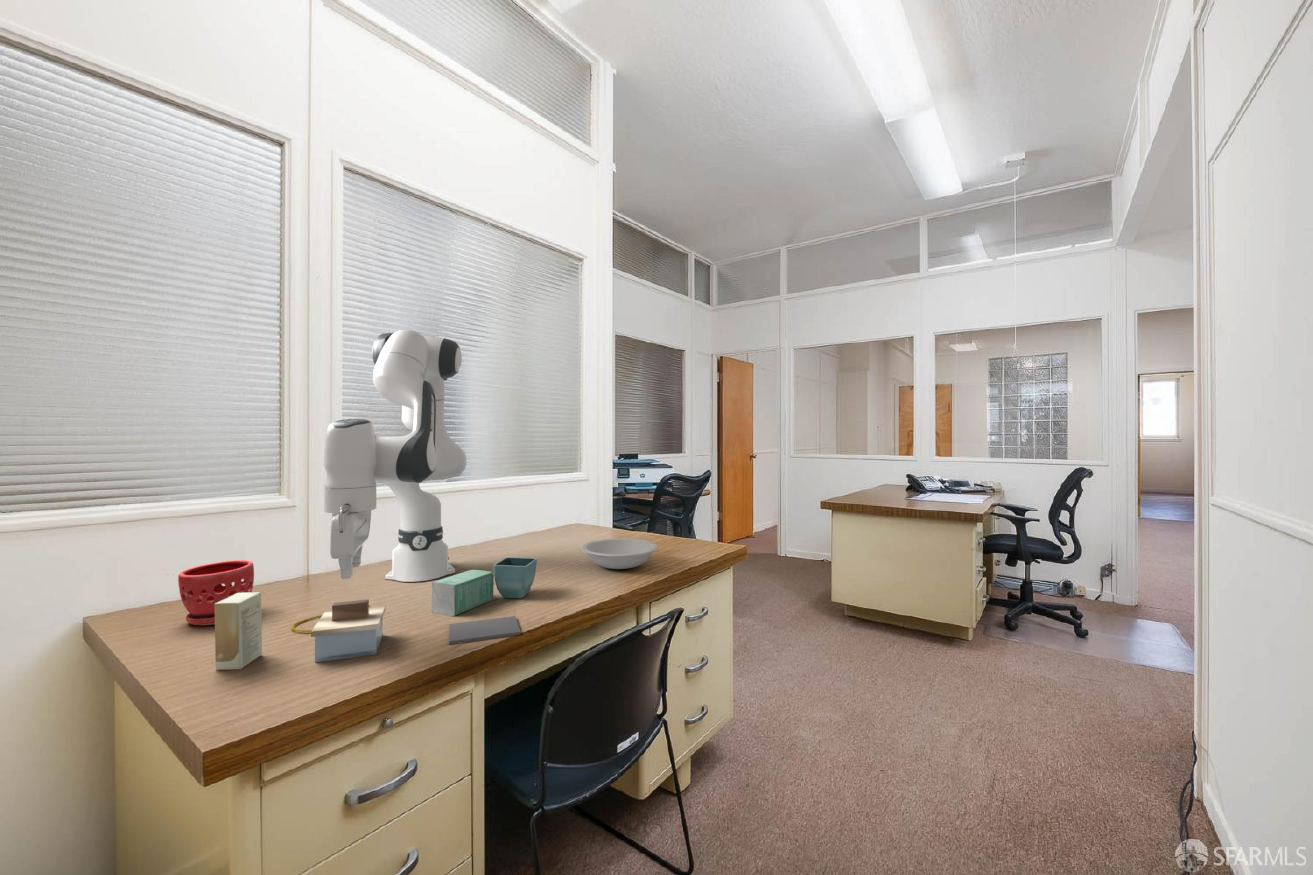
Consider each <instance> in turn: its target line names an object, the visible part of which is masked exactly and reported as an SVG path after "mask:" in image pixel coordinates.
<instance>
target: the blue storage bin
mask: <svg viewBox="0 0 1313 875" xmlns="http://www.w3.org/2000/svg"><path fill="white" fill-rule="evenodd" d="M383 618H384V617H383ZM383 618H382V621H381V624H380V626H379V629H373V630H365V631H357V632H349V633H340V634H332V635H324V636H316V637H314V663H322V662H323V663H324V662H330V661H337V660H343V659H345V660H346V659H353V658H358V657H365V656H374V655H377V653H378V649H379V647H380V644H381V641H382V638H383V629H384V628H383V620H384V619H383Z"/></svg>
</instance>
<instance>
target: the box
mask: <svg viewBox="0 0 1313 875" xmlns="http://www.w3.org/2000/svg"><path fill="white" fill-rule="evenodd" d="M494 585H495V584H494V572H492V571H488V570H481V569H470V570H466V571H463V572H461V573H460V572H459V573H457V574H456V573H455V574H454V575H451V576H447V577H444V578H441V579H439V580H435V581H432V582H431V612H432V613H433V614H438V615H443V616H449V617H455V616H457V615H460V614H462V613H465V612H467V611H469V610H471V609H474V608H476V607H478V606H481V605H483V604H486V603H488V602H491V601H493V600H494Z"/></svg>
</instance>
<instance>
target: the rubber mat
mask: <svg viewBox="0 0 1313 875" xmlns="http://www.w3.org/2000/svg"><path fill="white" fill-rule="evenodd" d="M448 626H449V627H448V628H449V630H448V634H449V635H448V644H449V645H453V644H454V645H455V644H461V643H469V642H475V641H484V640H490V639H497V638H504V637H505V638H506V637H513V636H518V635H519V636H521V634H522V632H521V629H520V626H519V623H518V620H517V618H516V616H515V615H511V616H505V617H497V618H495V617H494V618H488V619H479V620H472V621H464V622H456V623H455V622H454V623H449V624H448Z"/></svg>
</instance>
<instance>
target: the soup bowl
mask: <svg viewBox="0 0 1313 875" xmlns="http://www.w3.org/2000/svg"><path fill="white" fill-rule="evenodd" d="M658 547H659V545H658V544H656V543H655V542H653V541H650V540H645V539H640V538H629V537H628V538H625V537H623V538H621V537H620V538H618V537H617V538H603V539H597V540H593V541H589V542H586V543H584V544H583V545H581V550H582V551H583V552H584V553H586V554H587V556H588V557H589V559H590V560H592V562H593V563H594V564H596V565H598V566H599V567H601V568H606V569H611V570H626V569H627V570H628V569H633V568H636V567H639V566H641V565H643V564H645V563H646V562H647V561H648V560H649V559H650V558H651V556H652V555H653V553H654V552H655V551H657V550H658V549H659V548H658Z"/></svg>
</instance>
